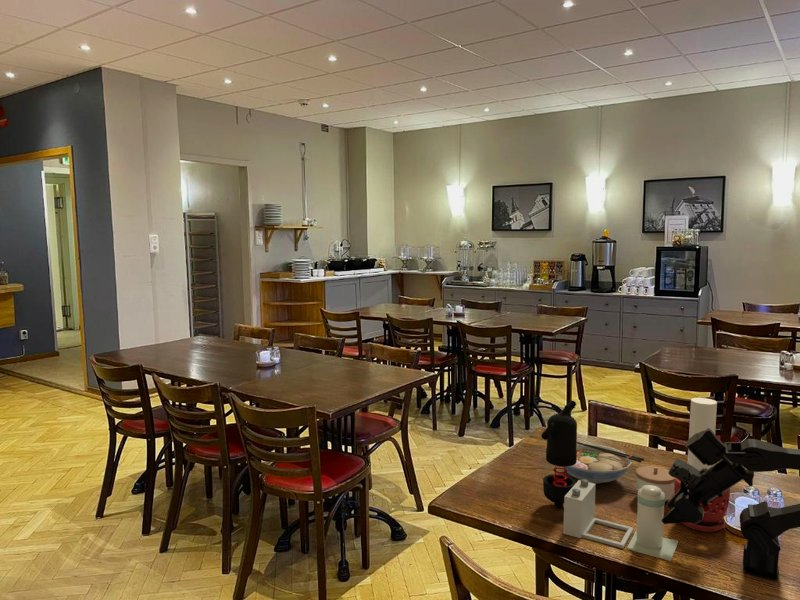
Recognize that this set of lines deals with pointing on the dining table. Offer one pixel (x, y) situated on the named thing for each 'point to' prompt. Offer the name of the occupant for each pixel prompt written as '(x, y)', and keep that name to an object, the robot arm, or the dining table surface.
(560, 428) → the black spring figurine
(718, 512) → the plant pot
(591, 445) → the ramen bowl
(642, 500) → the cartridge
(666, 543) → the mat
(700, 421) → the cylindrical container
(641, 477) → the lidded jar
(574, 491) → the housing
